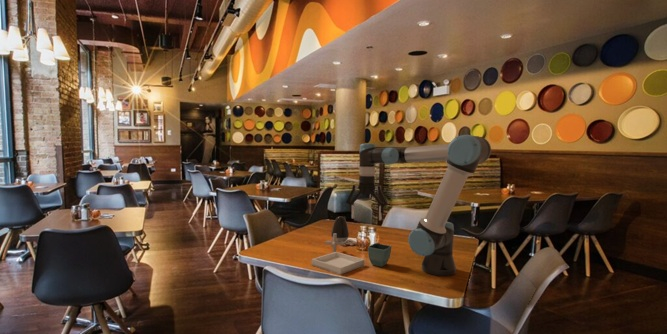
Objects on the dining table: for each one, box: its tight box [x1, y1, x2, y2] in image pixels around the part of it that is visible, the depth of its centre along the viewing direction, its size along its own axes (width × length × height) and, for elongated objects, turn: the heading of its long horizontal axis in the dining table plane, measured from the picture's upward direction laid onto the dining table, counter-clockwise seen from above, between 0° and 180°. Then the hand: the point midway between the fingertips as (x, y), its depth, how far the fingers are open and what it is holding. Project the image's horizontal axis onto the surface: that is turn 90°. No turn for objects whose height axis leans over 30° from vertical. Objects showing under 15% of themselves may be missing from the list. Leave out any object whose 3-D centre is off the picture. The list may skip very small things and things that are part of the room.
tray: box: [311, 251, 365, 276], centre depth 170 cm, size 18×18×3 cm
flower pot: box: [367, 242, 393, 268], centre depth 173 cm, size 9×9×9 cm
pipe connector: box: [324, 233, 345, 253], centre depth 191 cm, size 10×10×10 cm
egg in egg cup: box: [330, 215, 350, 243], centre depth 213 cm, size 10×10×15 cm
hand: (366, 218), depth 177 cm, fingers open, 13 cm apart
